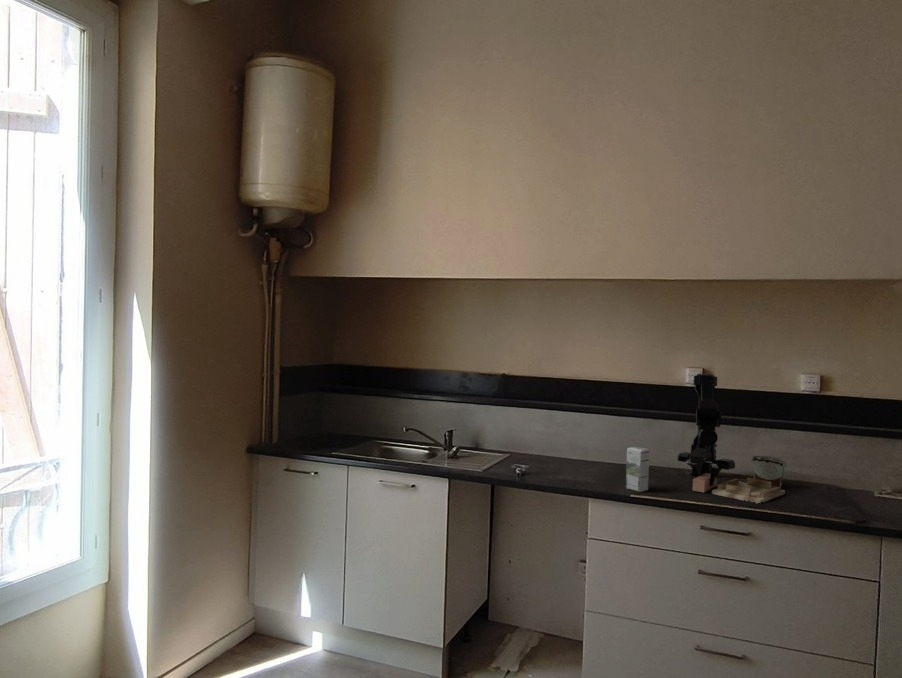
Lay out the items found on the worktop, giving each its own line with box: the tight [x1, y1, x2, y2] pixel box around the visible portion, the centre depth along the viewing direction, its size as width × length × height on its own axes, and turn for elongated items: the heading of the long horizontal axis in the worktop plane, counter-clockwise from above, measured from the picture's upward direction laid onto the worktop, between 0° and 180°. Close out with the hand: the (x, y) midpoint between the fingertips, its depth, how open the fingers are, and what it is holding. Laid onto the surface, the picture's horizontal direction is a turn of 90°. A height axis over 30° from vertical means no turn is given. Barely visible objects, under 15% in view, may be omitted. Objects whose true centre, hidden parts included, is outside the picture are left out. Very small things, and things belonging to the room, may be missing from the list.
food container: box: [750, 455, 787, 488], centre depth 244 cm, size 12×6×10 cm, turn 41°
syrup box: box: [625, 446, 650, 493], centre depth 228 cm, size 6×6×14 cm
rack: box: [711, 477, 786, 504], centre depth 228 cm, size 16×22×4 cm
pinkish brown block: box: [692, 473, 718, 493], centre depth 233 cm, size 4×14×4 cm, turn 141°
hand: (704, 484), depth 233 cm, fingers closed on pinkish brown block, 4 cm apart
